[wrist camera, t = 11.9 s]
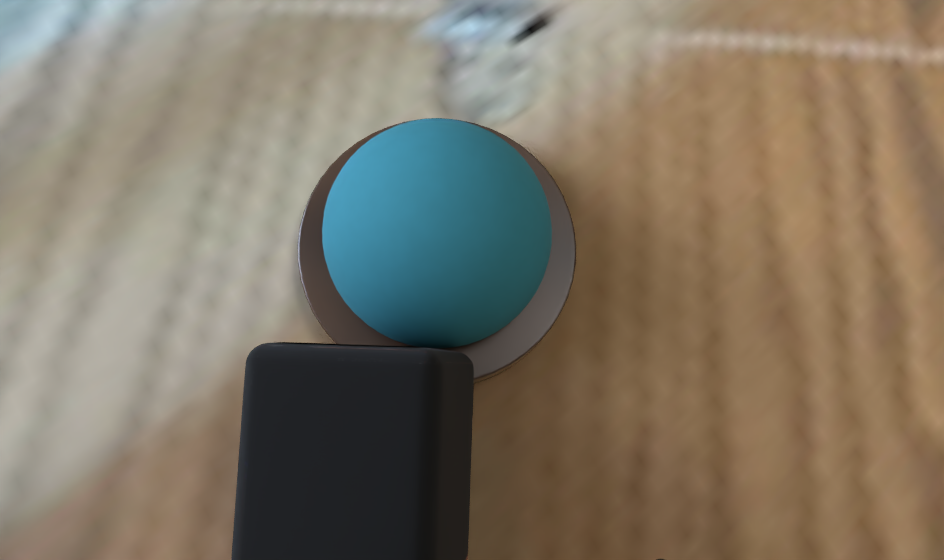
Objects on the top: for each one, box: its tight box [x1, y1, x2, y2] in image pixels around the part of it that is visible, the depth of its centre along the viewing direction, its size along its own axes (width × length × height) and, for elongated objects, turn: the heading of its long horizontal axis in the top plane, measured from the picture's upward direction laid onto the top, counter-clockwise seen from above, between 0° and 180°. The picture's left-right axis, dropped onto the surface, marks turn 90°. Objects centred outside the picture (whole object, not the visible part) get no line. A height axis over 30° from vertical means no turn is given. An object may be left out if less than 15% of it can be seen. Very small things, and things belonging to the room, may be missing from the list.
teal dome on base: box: [298, 118, 576, 383], centre depth 21 cm, size 9×9×7 cm
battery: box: [232, 342, 474, 560], centre depth 17 cm, size 4×7×10 cm
